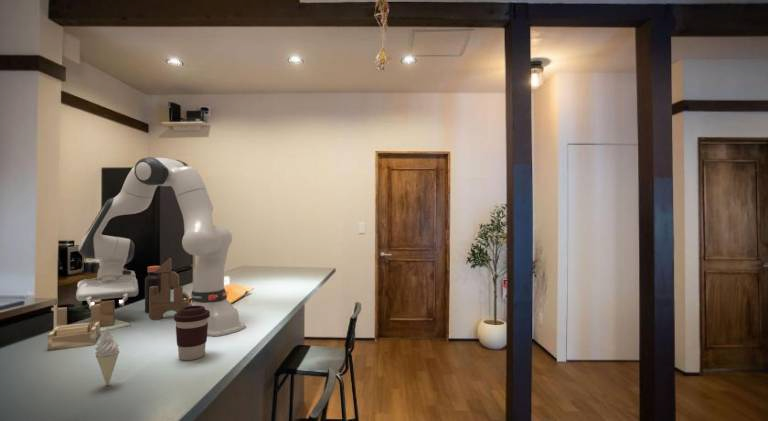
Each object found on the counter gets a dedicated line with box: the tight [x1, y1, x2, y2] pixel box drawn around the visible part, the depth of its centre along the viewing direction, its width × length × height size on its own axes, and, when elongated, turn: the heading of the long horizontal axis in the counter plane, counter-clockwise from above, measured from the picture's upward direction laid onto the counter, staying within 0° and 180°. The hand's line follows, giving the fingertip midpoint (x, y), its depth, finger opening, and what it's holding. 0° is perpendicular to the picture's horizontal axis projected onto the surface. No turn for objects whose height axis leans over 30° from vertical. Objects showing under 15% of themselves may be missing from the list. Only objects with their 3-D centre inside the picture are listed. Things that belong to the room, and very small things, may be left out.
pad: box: [90, 318, 132, 333], centre depth 148 cm, size 12×12×1 cm
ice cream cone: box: [94, 327, 120, 386], centre depth 98 cm, size 5×5×15 cm
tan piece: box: [47, 303, 101, 352], centre depth 131 cm, size 12×12×11 cm
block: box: [98, 299, 116, 327], centre depth 148 cm, size 4×4×9 cm
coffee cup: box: [173, 305, 210, 361], centre depth 118 cm, size 10×10×15 cm
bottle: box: [144, 265, 161, 314], centre depth 171 cm, size 7×7×20 cm
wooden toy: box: [148, 257, 191, 320], centre depth 163 cm, size 16×7×25 cm, turn 111°
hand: (106, 306), depth 149 cm, fingers open, 8 cm apart
